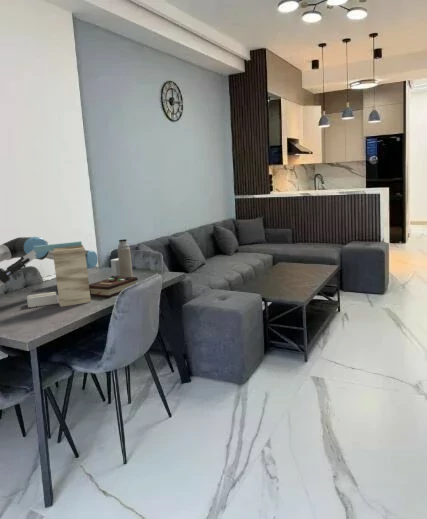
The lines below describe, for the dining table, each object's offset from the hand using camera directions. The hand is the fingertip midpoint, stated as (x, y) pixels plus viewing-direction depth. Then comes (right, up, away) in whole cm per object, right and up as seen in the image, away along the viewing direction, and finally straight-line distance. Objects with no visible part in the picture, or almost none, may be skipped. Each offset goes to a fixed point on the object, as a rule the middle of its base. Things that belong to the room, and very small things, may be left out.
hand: (34, 253), depth 230 cm
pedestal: (+17, -27, +12) cm, 34 cm away
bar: (+11, +2, +5) cm, 12 cm away
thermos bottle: (+37, -18, +55) cm, 69 cm away
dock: (-1, -28, +13) cm, 31 cm away
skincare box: (+31, -17, +63) cm, 72 cm away
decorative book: (+34, -23, +32) cm, 52 cm away
